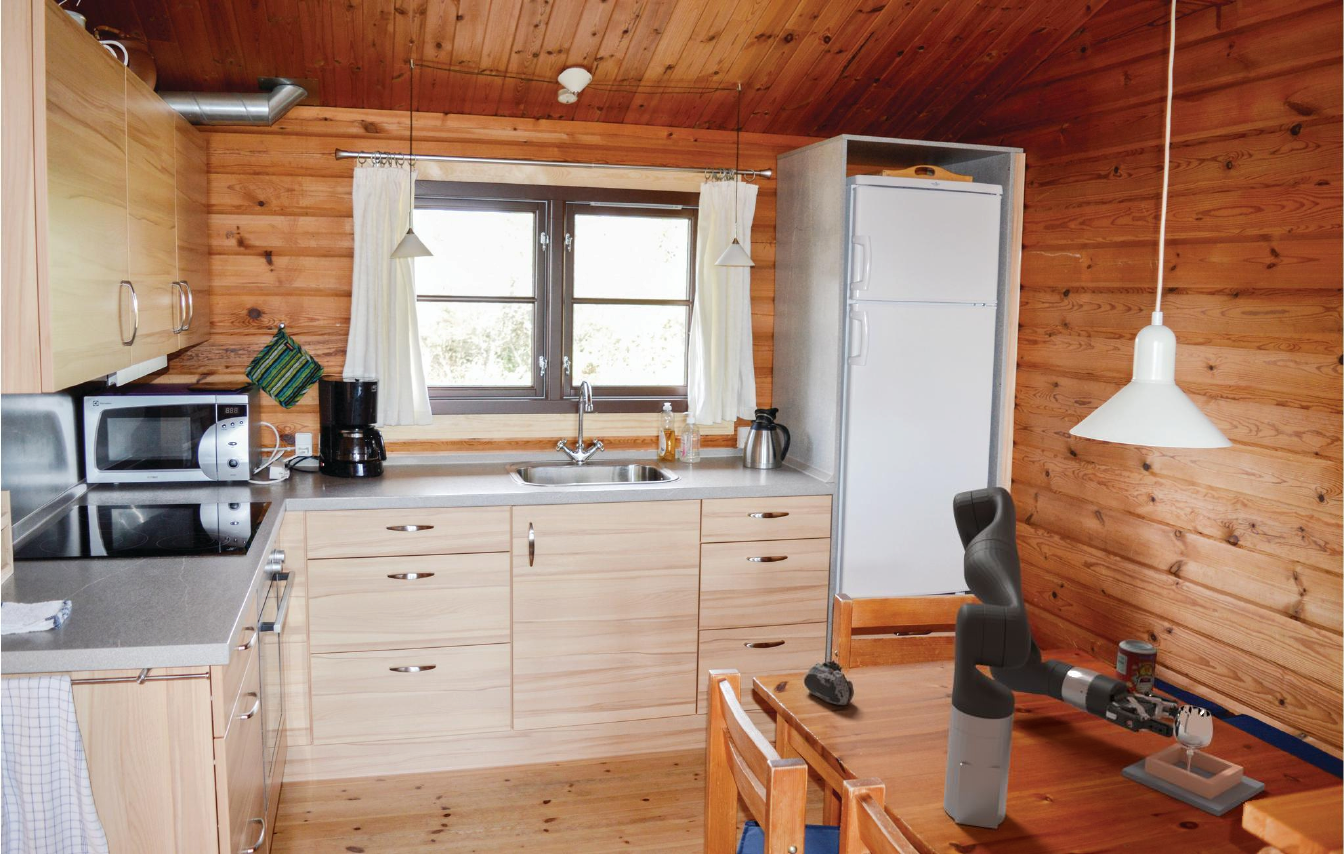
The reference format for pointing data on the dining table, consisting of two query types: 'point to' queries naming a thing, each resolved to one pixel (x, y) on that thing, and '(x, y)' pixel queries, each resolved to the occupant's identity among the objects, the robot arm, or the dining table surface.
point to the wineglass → (1193, 729)
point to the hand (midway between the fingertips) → (1184, 725)
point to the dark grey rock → (829, 683)
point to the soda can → (1136, 665)
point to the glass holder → (1195, 779)
